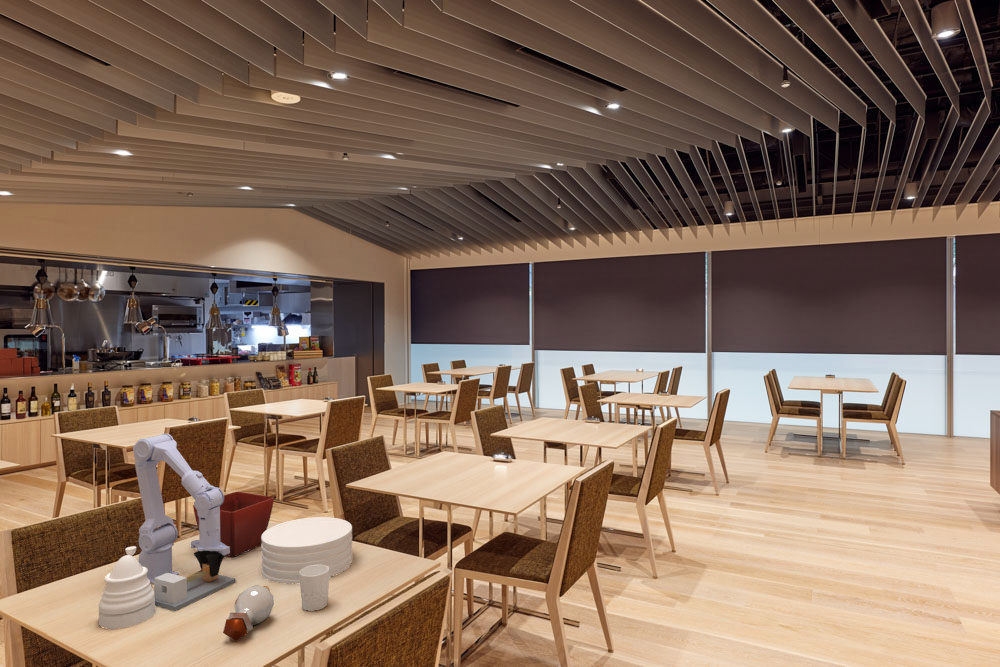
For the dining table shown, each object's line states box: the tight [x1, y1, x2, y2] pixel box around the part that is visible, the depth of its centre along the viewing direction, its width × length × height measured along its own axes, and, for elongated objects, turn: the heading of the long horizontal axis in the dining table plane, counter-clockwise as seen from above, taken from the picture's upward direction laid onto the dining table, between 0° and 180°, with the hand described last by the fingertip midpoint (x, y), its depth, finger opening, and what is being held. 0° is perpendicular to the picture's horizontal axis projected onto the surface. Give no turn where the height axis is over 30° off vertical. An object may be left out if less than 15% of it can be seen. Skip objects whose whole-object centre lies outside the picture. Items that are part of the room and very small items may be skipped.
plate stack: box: [260, 516, 353, 585], centre depth 195 cm, size 28×28×12 cm
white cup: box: [299, 565, 330, 612], centre depth 167 cm, size 8×8×10 cm
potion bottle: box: [222, 584, 275, 642], centre depth 155 cm, size 9×10×15 cm
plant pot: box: [192, 491, 275, 558], centre depth 210 cm, size 19×19×17 cm
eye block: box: [153, 573, 236, 612], centre depth 176 cm, size 12×20×7 cm, turn 155°
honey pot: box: [98, 545, 156, 630], centre depth 161 cm, size 13×13×18 cm
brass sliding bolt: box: [185, 562, 218, 583], centre depth 177 cm, size 3×12×5 cm, turn 155°
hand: (210, 574), depth 182 cm, fingers closed on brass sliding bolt, 3 cm apart
